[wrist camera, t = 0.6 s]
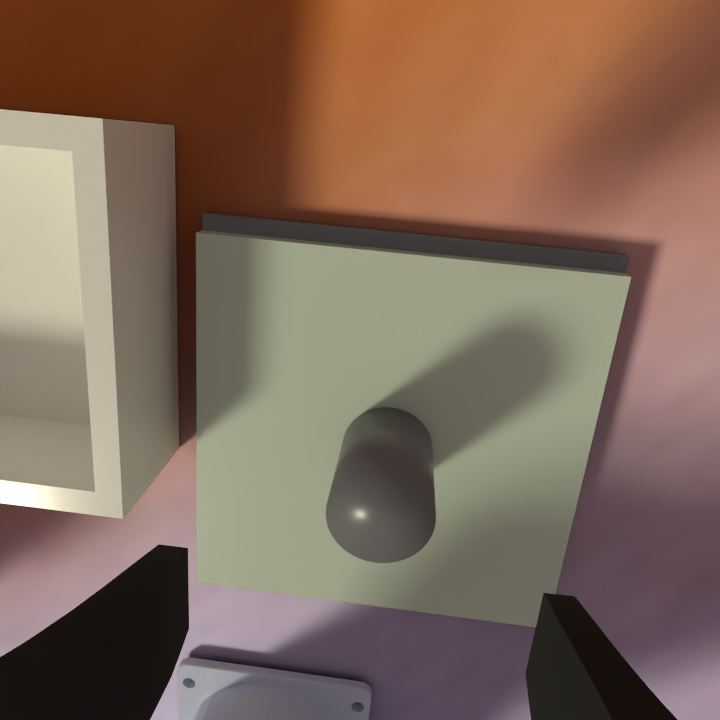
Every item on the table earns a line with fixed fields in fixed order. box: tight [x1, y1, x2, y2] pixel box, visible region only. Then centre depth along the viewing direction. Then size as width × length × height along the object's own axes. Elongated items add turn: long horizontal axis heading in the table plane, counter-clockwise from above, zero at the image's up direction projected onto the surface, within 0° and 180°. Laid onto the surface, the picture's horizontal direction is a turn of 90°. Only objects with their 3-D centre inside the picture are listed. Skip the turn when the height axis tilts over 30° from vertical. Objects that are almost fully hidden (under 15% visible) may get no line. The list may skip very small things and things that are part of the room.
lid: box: [196, 230, 631, 628], centre depth 19 cm, size 13×13×5 cm
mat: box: [202, 213, 629, 273], centre depth 21 cm, size 14×13×1 cm
